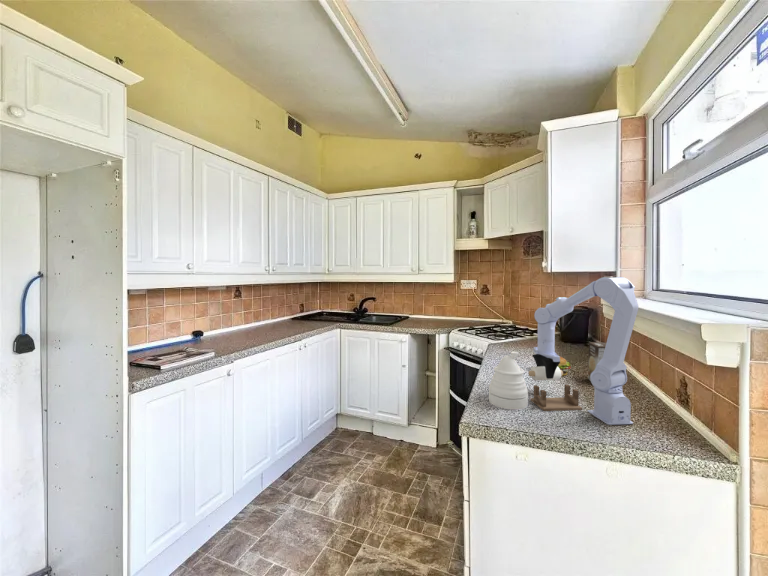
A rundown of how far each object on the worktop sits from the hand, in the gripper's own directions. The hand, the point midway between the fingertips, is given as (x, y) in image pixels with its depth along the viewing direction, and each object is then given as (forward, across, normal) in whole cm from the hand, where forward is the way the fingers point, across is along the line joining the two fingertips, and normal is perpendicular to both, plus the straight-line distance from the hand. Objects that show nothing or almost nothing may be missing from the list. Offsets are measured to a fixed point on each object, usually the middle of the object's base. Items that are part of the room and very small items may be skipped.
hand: (545, 375), depth 122 cm
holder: (+7, +10, -2) cm, 12 cm away
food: (+7, -25, +18) cm, 32 cm away
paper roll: (-1, 0, 0) cm, 1 cm away
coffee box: (+7, -10, +29) cm, 32 cm away
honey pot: (+7, +6, -17) cm, 20 cm away
